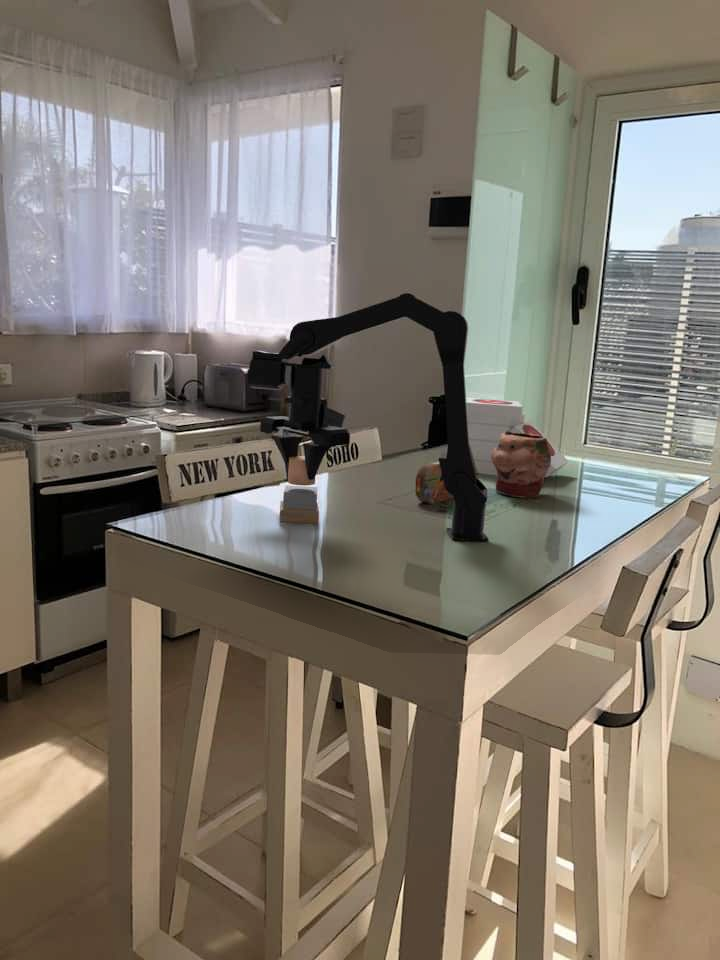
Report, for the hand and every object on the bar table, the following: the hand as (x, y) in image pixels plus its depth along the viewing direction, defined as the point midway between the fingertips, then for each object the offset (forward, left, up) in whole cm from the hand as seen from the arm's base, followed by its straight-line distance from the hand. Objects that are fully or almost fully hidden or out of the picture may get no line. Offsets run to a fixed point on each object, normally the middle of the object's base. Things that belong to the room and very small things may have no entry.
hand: (301, 476), depth 146 cm
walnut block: (0, 0, -8) cm, 9 cm away
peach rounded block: (0, 0, -1) cm, 1 cm away
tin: (+21, -30, -8) cm, 37 cm away
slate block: (0, 0, -5) cm, 5 cm away
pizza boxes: (+59, -56, -8) cm, 82 cm away
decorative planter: (+32, -52, -8) cm, 62 cm away
